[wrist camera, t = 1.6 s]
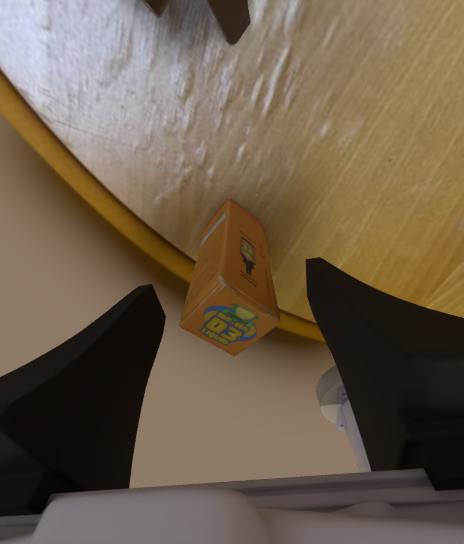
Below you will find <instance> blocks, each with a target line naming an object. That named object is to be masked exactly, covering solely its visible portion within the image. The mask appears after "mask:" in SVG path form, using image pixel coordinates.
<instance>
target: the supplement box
mask: <svg viewBox="0 0 464 544" xmlns="http://www.w3.org/2000/svg"><path fill="white" fill-rule="evenodd" d="M279 323H280V315H279V311H278V305H277V300H276V295H275V290H274V285H273V280H272V274H271V269H270V263H269V258H268V252H267V247H266V242H265V237H264V232H263V226H262V224H261V223H260V222H258V221H257V220H256V219H255V218H254V217H253V216H251V215H250V214H249V213H248V212H247V211H245V210H244V209H243V208H242V207H240V206H239V205H238V204H237V203H235V202H234V201H233V200H232V199H228V200H227V201H226V202H225V204H224V205H223V206H222V207H221V209H220V210H219V211H218V213H217V214H216V215H215V217H214V218H213V219H212V221H211V222H210V223H209V225H208V226H207V227H206V229H205V231H204V235H203V238H202V242H201V245H200V249H199V253H198V257H197V261H196V264H195V268H194V272H193V276H192V279H191V283H190V288H189V291H188V294H187V298H186V301H185V305H184V309H183V313H182V317H181V321H180V325H179V326H180V327H181V328H183V329H185V330H187V331H189V332H190V333H192V334H195V335H196V336H198V337H200V338H202V339H204V340H205V341H207V342H209V343H211V344H213V345H215V346H216V347H218V348H220V349H222V350H224V351H226V352H228V353H229V354H231V355H233V356H235V355H237V354H239V353H240V352H242V351H243V350H245V349H246V348H248V347H249V346H250V345H252V344H253V343H254V342H256V341H257V340H258V339H260V338H261V337H262V336H263V335H265V334H266V333H267V332H268V331H270V330H271V329H273V328H274V327H275V326H276V325H277V324H279Z"/></svg>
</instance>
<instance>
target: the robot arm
mask: <svg viewBox="0 0 464 544" xmlns="http://www.w3.org/2000/svg"><path fill="white" fill-rule="evenodd" d="M306 281H307V297H308V300H309V304H310V307H311V310H312V313H313V316H314V318H315V320H316V322H317V324H318V326H319V328H320V330H321V333H322V335H323V337H324V339H325V341H326V343H327V345H328V347H329V349H330V351H331V353H332V356H333V358H334V360H335V363H336V365H337V368H338V370H339V373H340V376H341V379H342V382H343V384H344V386H341V387H340V388H339V393H338V412H337V429H338V430H339V431H346V433H347V436H348V438H349V441H350V444H351V447H352V449H353V452H354V455H355V458H356V461H357V463H358V466H359V469H360V472H361V473H348V474H333V475H318V476H304V477H291V478H290V477H289V478H275V479H261V480H246V481H231V482H217V483H202V484H187V485H173V486H159V487H144V488H129V484H130V476H131V468H132V460H133V453H134V447H135V441H136V434H137V428H138V423H139V418H140V413H141V407H142V403H143V398H144V393H145V389H146V385H147V381H148V378H149V375H150V372H151V369H152V366H153V363H154V360H155V357H156V354H157V351H158V348H159V345H160V342H161V339H162V335H163V331H164V326H165V318H166V316H165V313H164V311H163V309H162V306H161V304H160V302H159V299H158V297H157V295H156V292H155V290H154V288H153V285H152V284H149V285H142V286H139V287H137V288H136V289H134V290H133V291H132V292H130V293H129V294H128V295H127V296H125V297H124V298H123V299H122V300H120V301H119V302H118V303H117V304H115V305H114V306H113V307H112V308H111V309H109V310H108V311H107V312H106V313H105V314H103V315H102V316H100V317H99V318H98V319H97V320H95V321H94V322H93V323H91V324H90V325H89V326H87V327H86V328H85V329H83V330H82V331H80V332H79V333H77V334H76V335H74V336H73V337H72V338H70V339H68V340H67V341H65V342H64V343H62V344H61V345H59V346H57V347H56V348H54V349H52V350H51V351H49V352H47V353H45V354H44V355H42V356H40V357H38V358H36V359H35V360H33V361H31V362H29V363H27V364H25V365H23V366H22V367H20V368H18V369H16V370H14V371H12V372H10V373H8V374H6V375H4V376H1V377H0V544H464V318H462V317H458V316H454V315H450V314H446V313H442V312H439V311H435V310H432V309H428V308H425V307H422V306H419V305H416V304H413V303H410V302H407V301H404V300H402V299H399V298H396V297H394V296H392V295H389V294H387V293H384V292H382V291H380V290H377V289H375V288H373V287H371V286H369V285H367V284H365V283H363V282H361V281H359V280H357V279H355V278H354V277H352V276H350V275H348V274H347V273H345V272H343V271H342V270H340V269H338V268H337V267H335V266H333V265H332V264H330V263H329V262H327V261H325V260H324V259H322V258H320V257H318V258H312V259H306Z"/></svg>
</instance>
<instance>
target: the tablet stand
mask: <svg viewBox="0 0 464 544" xmlns="http://www.w3.org/2000/svg"><path fill="white" fill-rule="evenodd" d="M141 1H142V2H143V3H144V4H145V5H146V6H147V7H148V8H149V9H150V10H151V11H152V12H153V13H154V14H155V15H156V16H157V17H158V18H160V17H161V15H162V13H163V11H164V10H165V8H166V6H167V4H168V2H169V0H141ZM207 2H208V4H209V6H210V8H211V10H212V12H213V14H214V15H215V17H216V19H217V21H218V23H219V25H220V27H221V29H222V31H223V33H224V35H225V37H226V39H227V41H228V42H229V43H230V44H235V43H236V42H237V41H238V40H239V38H240V37H241V35H242V34H243V33H244V31H245V30H246V28H247V27H248V25H249V24H250V16H249V10H248V0H207Z"/></svg>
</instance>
